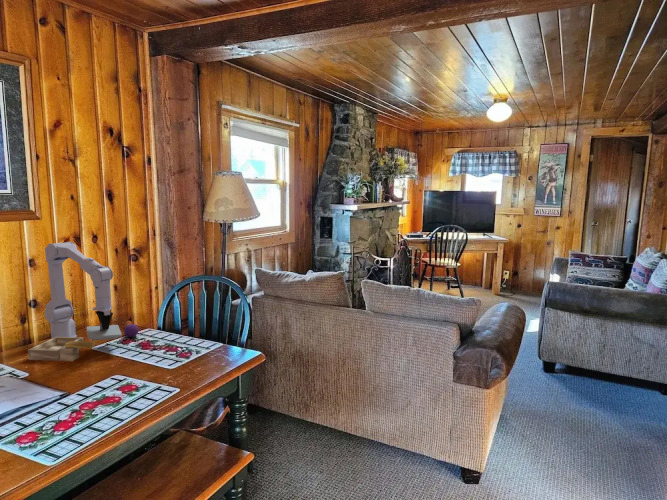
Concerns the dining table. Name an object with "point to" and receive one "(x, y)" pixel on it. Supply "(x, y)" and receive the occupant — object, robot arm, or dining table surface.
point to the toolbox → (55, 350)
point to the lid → (103, 332)
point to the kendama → (130, 329)
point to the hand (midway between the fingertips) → (105, 328)
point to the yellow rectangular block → (80, 344)
